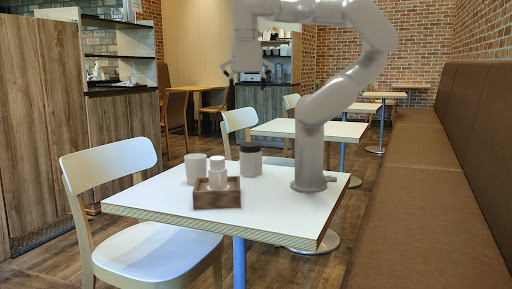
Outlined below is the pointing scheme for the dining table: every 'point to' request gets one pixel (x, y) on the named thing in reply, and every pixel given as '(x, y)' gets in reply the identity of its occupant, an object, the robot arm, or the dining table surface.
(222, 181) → the downlight
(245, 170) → the jar
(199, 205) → the walnut stand
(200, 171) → the white cup
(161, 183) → the dining table surface
